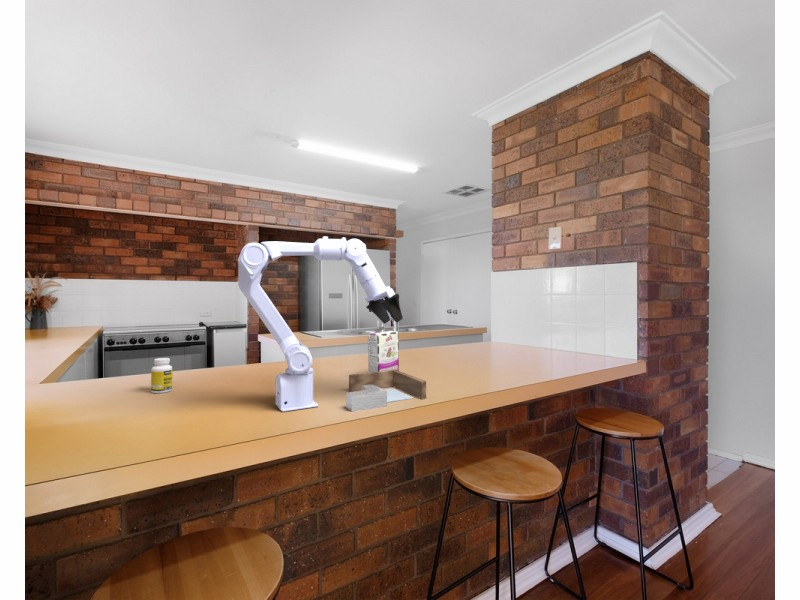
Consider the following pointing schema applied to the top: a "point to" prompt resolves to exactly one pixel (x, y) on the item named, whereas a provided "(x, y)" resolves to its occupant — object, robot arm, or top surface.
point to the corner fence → (389, 382)
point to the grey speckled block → (366, 398)
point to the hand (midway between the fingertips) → (393, 321)
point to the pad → (396, 395)
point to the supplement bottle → (161, 376)
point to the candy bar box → (383, 351)
